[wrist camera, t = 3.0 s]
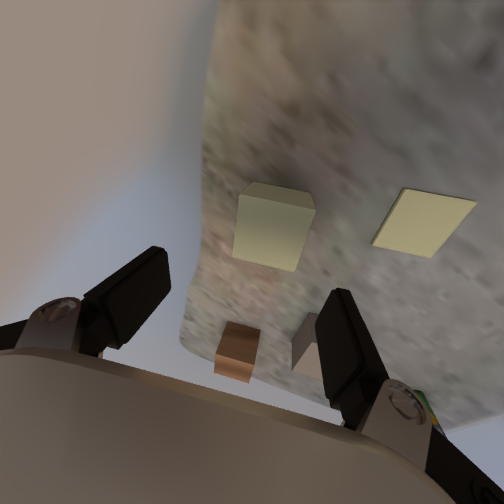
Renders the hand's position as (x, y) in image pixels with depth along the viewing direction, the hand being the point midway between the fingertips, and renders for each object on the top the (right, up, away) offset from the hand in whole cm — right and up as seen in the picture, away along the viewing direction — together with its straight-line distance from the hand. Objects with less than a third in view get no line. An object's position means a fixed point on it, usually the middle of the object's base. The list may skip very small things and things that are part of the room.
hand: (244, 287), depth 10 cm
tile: (+17, +5, +8) cm, 19 cm away
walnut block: (-1, -14, +23) cm, 27 cm away
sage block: (+3, +6, +10) cm, 12 cm away
